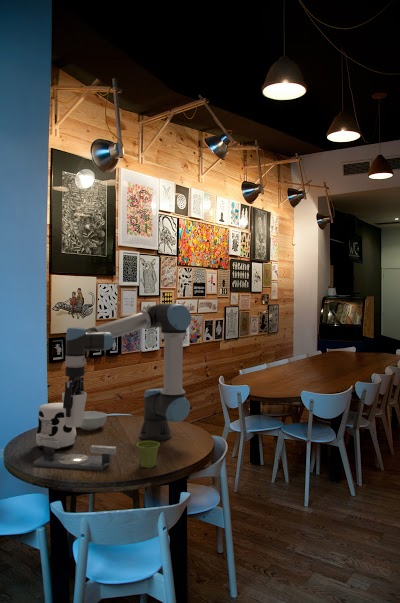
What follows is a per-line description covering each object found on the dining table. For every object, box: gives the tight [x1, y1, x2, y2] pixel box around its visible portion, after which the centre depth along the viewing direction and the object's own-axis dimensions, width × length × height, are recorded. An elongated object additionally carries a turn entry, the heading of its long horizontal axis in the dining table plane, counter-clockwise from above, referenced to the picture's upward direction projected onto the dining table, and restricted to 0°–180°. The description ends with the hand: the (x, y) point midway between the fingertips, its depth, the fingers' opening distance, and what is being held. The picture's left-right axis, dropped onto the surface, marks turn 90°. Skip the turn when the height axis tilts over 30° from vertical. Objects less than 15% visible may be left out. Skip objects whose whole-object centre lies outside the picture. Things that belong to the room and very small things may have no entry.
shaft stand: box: [32, 438, 117, 472], centre depth 198 cm, size 34×13×7 cm, turn 83°
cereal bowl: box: [79, 410, 108, 431], centre depth 251 cm, size 17×17×7 cm
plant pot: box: [136, 440, 161, 469], centre depth 197 cm, size 9×9×9 cm
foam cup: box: [61, 391, 88, 428], centre depth 197 cm, size 10×9×13 cm
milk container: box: [35, 402, 77, 450], centre depth 219 cm, size 17×17×18 cm
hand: (73, 421), depth 197 cm, fingers closed on foam cup, 9 cm apart
